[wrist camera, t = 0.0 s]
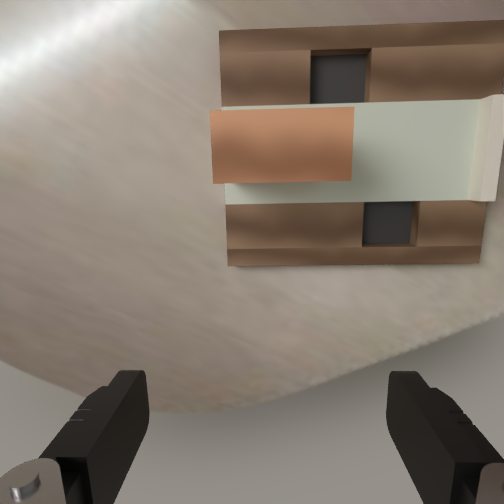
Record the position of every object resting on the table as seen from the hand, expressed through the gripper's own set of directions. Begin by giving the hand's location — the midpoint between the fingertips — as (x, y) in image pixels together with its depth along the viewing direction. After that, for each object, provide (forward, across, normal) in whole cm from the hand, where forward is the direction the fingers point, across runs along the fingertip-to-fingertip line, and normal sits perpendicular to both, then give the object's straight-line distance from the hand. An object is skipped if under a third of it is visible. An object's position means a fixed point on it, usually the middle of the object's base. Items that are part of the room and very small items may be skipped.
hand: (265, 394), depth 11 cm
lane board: (+29, -10, -9) cm, 32 cm away
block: (+27, -1, -9) cm, 29 cm away
